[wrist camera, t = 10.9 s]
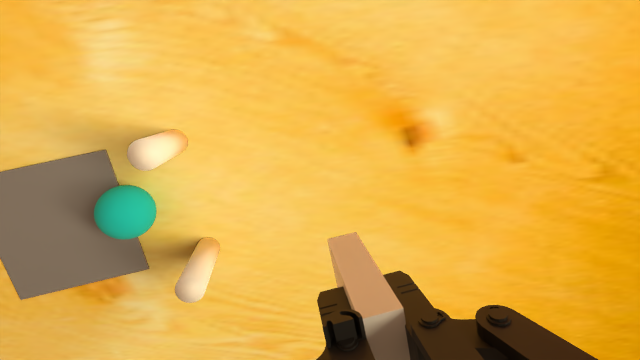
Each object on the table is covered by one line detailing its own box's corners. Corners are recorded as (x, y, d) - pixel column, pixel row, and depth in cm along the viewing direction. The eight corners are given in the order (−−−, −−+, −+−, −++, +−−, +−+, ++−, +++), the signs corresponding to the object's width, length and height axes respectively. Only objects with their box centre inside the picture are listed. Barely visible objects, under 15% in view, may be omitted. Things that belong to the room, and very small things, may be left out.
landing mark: (22, 298, 38) (20, 299, 38) (-36, 179, 34) (-38, 180, 34) (149, 268, 39) (148, 268, 39) (105, 149, 36) (104, 149, 35)
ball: (166, 222, 38) (113, 235, 37) (152, 175, 37) (97, 187, 36) (157, 238, 33) (95, 254, 32) (141, 184, 32) (76, 198, 31)
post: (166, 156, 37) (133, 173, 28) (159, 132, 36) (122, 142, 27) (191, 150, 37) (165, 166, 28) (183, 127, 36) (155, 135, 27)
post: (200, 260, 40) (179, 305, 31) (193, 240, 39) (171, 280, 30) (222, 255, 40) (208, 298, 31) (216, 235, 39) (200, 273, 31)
